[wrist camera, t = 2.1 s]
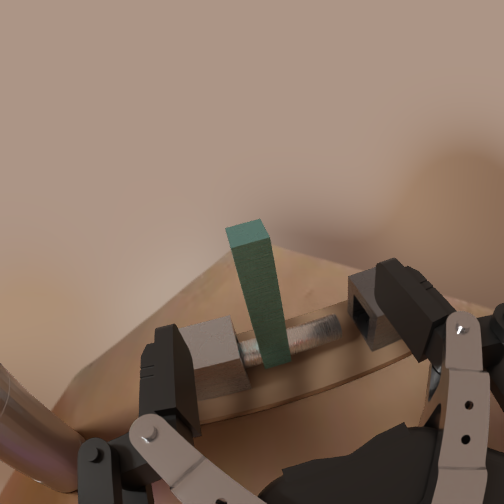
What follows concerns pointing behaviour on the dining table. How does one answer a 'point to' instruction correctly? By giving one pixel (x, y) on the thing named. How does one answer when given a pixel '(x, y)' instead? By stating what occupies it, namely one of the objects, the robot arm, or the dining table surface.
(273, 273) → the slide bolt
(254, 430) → the dining table surface
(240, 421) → the dining table surface
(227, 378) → the sleeve and socket
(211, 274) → the dining table surface
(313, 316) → the walnut board
